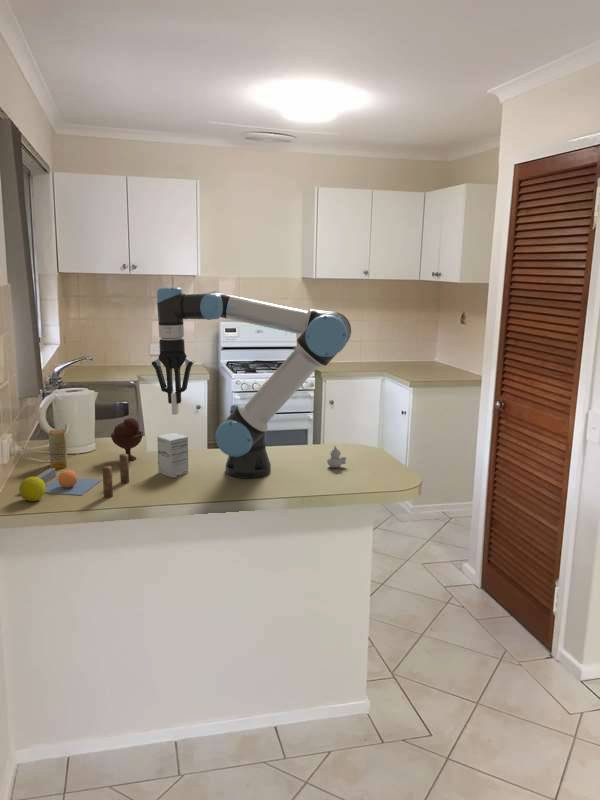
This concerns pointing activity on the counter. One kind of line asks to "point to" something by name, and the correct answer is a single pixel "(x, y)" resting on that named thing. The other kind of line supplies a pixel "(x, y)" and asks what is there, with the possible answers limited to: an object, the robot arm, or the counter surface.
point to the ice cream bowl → (127, 436)
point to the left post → (107, 482)
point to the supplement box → (172, 454)
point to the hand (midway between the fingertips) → (175, 413)
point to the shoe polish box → (58, 448)
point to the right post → (124, 468)
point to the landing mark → (77, 489)
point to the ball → (67, 479)
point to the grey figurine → (336, 458)
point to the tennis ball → (32, 489)
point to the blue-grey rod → (47, 475)
